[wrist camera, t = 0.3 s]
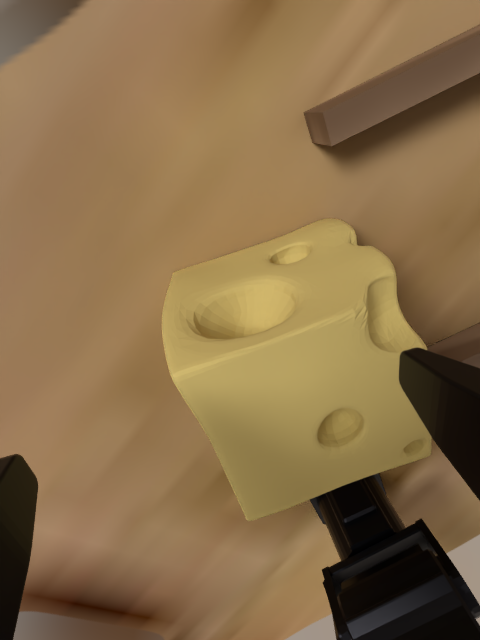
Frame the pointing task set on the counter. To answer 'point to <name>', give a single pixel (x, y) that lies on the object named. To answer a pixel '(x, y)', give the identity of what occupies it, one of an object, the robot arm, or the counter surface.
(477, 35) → the bay
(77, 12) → the counter surface
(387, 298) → the cheese
